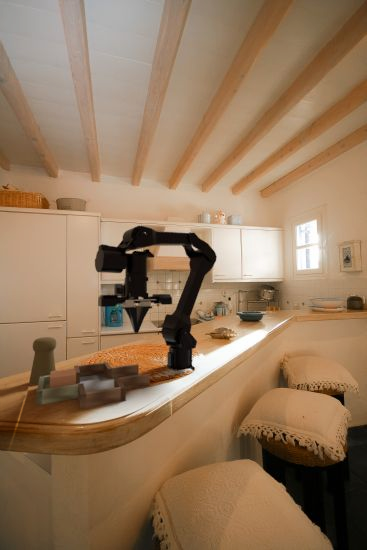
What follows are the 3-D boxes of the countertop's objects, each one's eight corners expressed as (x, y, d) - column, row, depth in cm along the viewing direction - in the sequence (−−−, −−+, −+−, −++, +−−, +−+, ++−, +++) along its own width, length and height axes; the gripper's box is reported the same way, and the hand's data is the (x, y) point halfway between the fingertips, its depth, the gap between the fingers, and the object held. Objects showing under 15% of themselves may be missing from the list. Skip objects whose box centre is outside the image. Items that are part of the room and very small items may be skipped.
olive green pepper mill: (44, 388, 58) (46, 340, 59) (22, 386, 59) (24, 339, 60) (61, 379, 64) (63, 336, 65) (41, 377, 65) (43, 335, 66)
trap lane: (131, 370, 72) (132, 359, 72) (157, 397, 53) (158, 382, 53) (40, 382, 61) (41, 369, 62) (33, 421, 43) (33, 403, 43)
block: (74, 385, 58) (74, 368, 58) (75, 393, 53) (76, 374, 54) (50, 389, 55) (50, 371, 56) (49, 398, 51) (50, 378, 51)
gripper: (157, 276, 78) (158, 326, 77) (95, 275, 69) (94, 331, 68) (172, 273, 68) (173, 331, 67) (102, 272, 59) (101, 338, 58)
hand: (136, 332), depth 65 cm, fingers closed
